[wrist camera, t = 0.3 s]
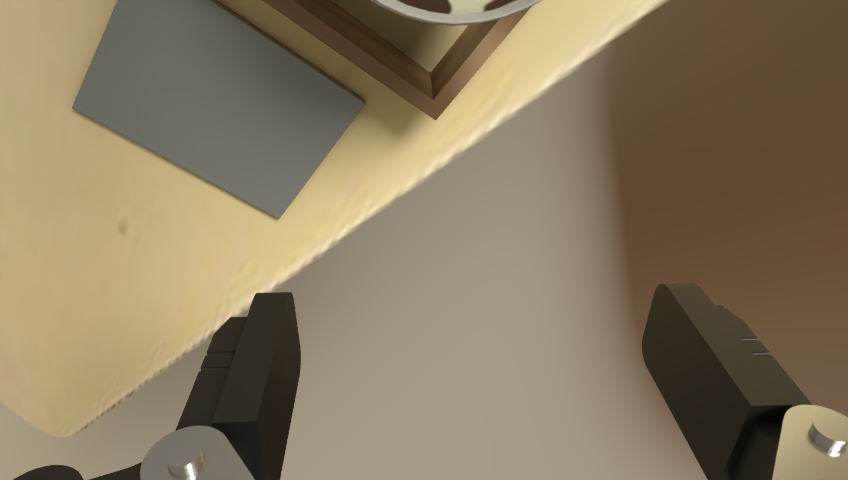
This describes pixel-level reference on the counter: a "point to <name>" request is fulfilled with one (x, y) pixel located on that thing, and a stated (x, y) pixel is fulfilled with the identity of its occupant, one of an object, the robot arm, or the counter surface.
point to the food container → (455, 10)
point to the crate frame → (353, 40)
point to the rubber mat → (215, 98)
